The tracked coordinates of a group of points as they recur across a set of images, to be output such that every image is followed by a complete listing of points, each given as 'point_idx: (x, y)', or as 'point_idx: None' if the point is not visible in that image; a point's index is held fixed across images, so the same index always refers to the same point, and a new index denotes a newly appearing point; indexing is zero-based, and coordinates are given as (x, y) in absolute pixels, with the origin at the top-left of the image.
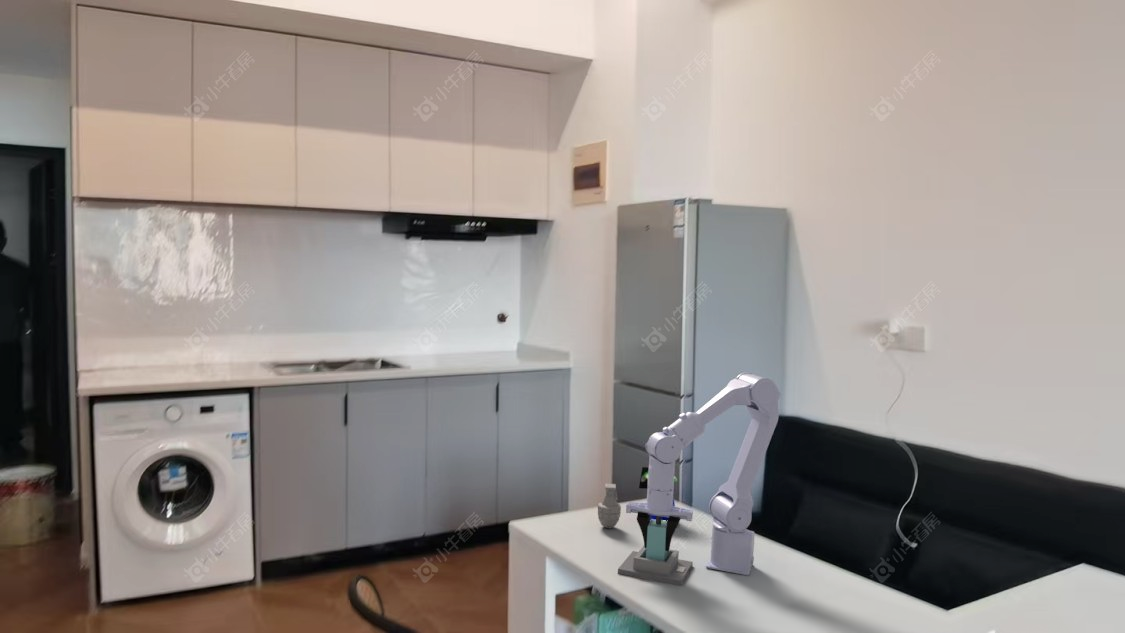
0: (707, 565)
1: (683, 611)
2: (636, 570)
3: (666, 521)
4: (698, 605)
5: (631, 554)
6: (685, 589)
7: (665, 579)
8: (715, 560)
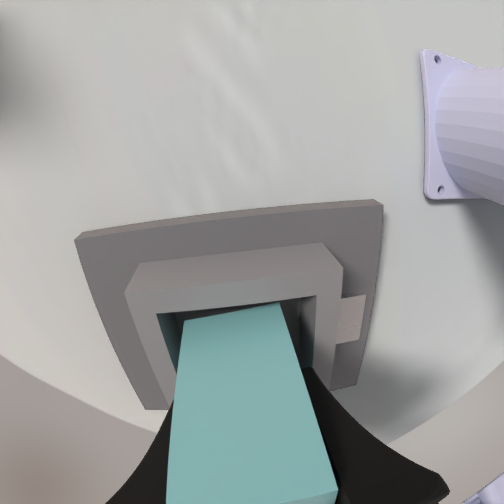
0: (431, 191)
1: None
2: None
3: (316, 498)
4: (388, 415)
5: (93, 283)
6: (363, 383)
7: None
8: (468, 185)
